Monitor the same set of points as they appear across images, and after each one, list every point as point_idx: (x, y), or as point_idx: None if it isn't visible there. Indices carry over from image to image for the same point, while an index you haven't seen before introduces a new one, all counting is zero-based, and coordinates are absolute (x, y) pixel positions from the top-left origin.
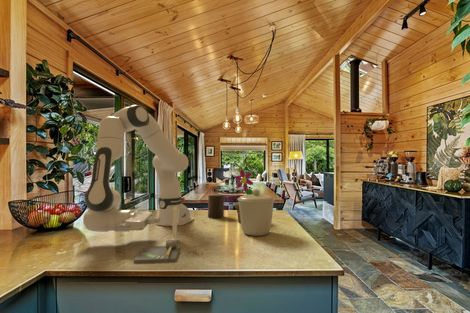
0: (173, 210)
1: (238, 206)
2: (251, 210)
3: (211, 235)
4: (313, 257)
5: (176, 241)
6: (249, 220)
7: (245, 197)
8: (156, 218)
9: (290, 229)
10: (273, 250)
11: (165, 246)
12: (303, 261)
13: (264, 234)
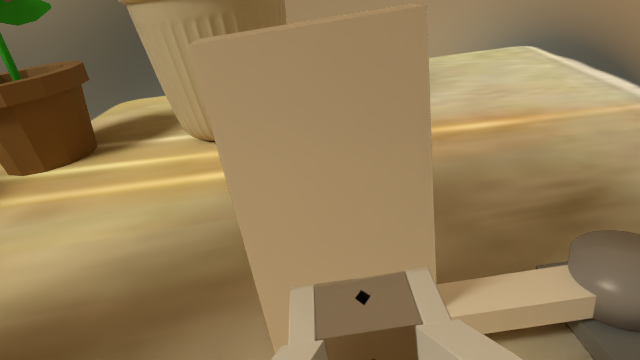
0: (422, 22)
1: (24, 87)
2: (276, 14)
3: (230, 209)
4: (467, 60)
5: (598, 231)
6: None
7: None
8: (374, 309)
9: None
10: (434, 89)
11: (613, 354)
12: (504, 62)
13: None
